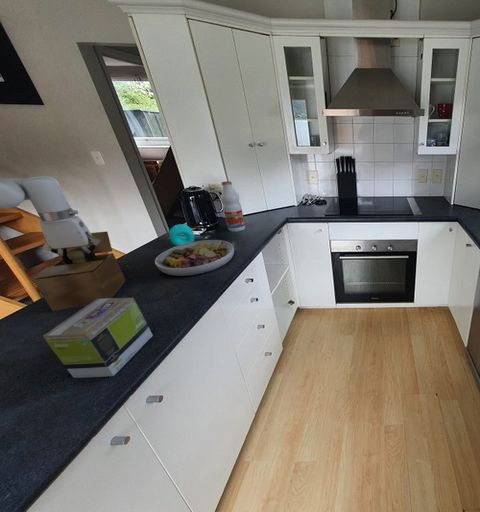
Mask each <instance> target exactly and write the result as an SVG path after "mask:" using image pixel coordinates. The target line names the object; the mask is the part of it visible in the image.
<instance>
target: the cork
mask: <svg viewBox="0 0 480 512" xmlns="http://www.w3.org/2000/svg"><path fill="white" fill-rule="evenodd" d="M85 254H86V252H85V251H84V250H83V249H82V248H78V249H73V250H70V251H69V252H67V257H68V258H69V259H71V260H72V261H73V264H76V263H84V262H89V261H88V259H87V257H86V255H85ZM95 269H96V268H95ZM95 269H94V270H95ZM94 270H93V271H94ZM93 271H88V272H93ZM81 273H87V272H81ZM76 274H80V273H76Z"/></svg>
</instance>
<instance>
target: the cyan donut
mask: <svg viewBox="0 0 480 512" xmlns="http://www.w3.org/2000/svg"><path fill="white" fill-rule="evenodd" d="M195 237H196V236H195V234H194V231H193V229H192V228H191V227H190V226H189V225H187V224H184V223H179V224H175V225H173V226H172V227H171V228H170V230H169V240H170V242H171V243H172V244H173V245H174V246H175V247H176V246H179V245H183V244H186V243H191V242H195V240H196V239H195Z"/></svg>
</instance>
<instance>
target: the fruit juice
mask: <svg viewBox="0 0 480 512" xmlns="http://www.w3.org/2000/svg"><path fill="white" fill-rule="evenodd" d="M232 184H233V183H232V181H230V180H227V181H222V182H221V186H222V192H221V195H220V200H221V202H222V210H223V214H224V218H225V222H226V227H227V230H228V231H229V232H232V233H237V232H242V231H244V230H245V229H246V223H245V219H244V212H243V208H242V205H241V203H240V196H239V194H238V193H237V192H236V191H235V189H234V188H233V186H232Z"/></svg>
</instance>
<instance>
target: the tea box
mask: <svg viewBox="0 0 480 512" xmlns="http://www.w3.org/2000/svg"><path fill="white" fill-rule="evenodd" d="M153 335H154V334H153V333H152V331H151V329H150V327H149V325H148V323H147V321H146V319H145V317H144V315H143V314H142V311H141V309H140V307H139V306H138V303H137V302H136V299H135V298H134V297H113V298H106V299H98V298H97V299H96V300H94V301H93V302H91V303H90V304H88V305H87V306H83V307H82V308H81V309H79V310H78V311H77V312H75V313H74V314H72V315H71V316H69V317H68V318H66V319H65V320H64V321H62V322H61V323H59V324H58V325H56V326H54V327H53V328H52V329H50V330H49V331H48V332H47V333H44V334H43V335H42V338H43V339H44V341H45V342H46V343H47V345H48V346H49V347H50V348H51V350H52V351H53V353H54V354H55V355H56V357H57V358H58V360H59V361H60V362H61V363H62V365H63V366H64V368H65V369H66V371H68V373H69V374H70V375H71V376H72V378H75V379H81V378H82V379H83V378H85V379H86V378H102V377H104V378H108V376H109V377H115V375H116V374H118V372H119V371H121V369H122V368H123V367H124V366H125V365H126V364H127V363H128V362H129V361H130V360H131V359H132V358H133V357H134V356H135V355H136V354H137V353H138V352H139V351H140V350H141V349H142V348H143V346H145V345H146V344H147V342H148V341H149V340H151V338H152V337H153Z"/></svg>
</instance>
